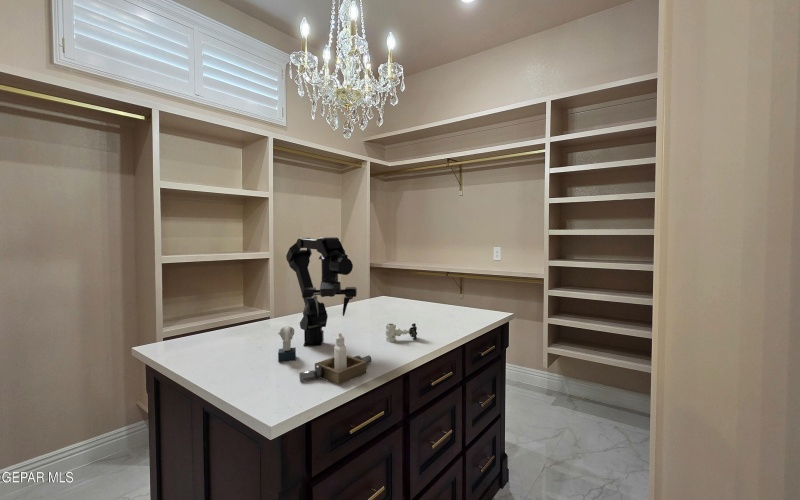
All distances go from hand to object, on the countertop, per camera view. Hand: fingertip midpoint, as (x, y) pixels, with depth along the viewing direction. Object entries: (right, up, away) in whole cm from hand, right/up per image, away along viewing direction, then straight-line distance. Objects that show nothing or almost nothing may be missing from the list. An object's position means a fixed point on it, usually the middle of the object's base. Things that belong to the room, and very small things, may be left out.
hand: (330, 316), depth 125 cm
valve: (+25, -13, +14) cm, 31 cm away
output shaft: (-1, -14, -22) cm, 27 cm away
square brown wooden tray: (+7, -14, -19) cm, 24 cm away
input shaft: (+13, -14, -12) cm, 22 cm away
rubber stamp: (-14, -14, -6) cm, 20 cm away
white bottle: (+7, -14, -19) cm, 24 cm away
